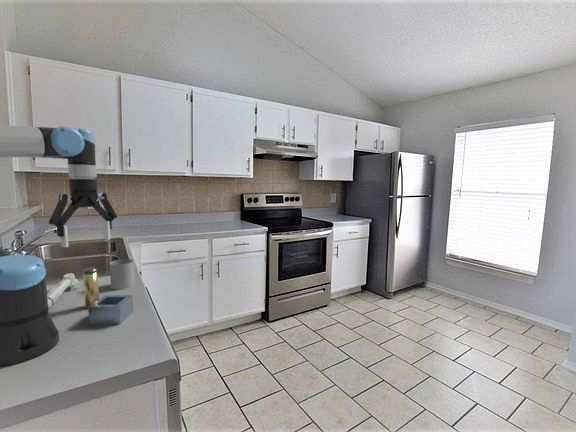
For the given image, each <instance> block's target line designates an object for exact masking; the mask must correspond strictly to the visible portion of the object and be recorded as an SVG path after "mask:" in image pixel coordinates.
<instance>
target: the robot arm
mask: <svg viewBox="0 0 576 432" xmlns="http://www.w3.org/2000/svg"><path fill="white" fill-rule="evenodd" d="M2 158H3V159H4V158H43V159H45V158H46V159H63V160H67V168H68V170H67V171H68V177H69V178H70V179H69V180H68V183H69V184H68V185H69V191H70V193H69V194H66V193H59V195H58V202H57V203H56V206H55V207H54V211H53V212H52V214H51V217H50V218H49V221H48V224H49V225H51V226H55V227H56V235H57V237H60V238H59V239H60V247H62V248H69V246H70V245H69V234H68V233H69V232H68V225H66V223H68V221H69V220H70V218H71V217H72V216H73V214H74V213H75V212H76V211H77V210H78V209H79V208H87V207H88V208H93V210H95V211H96V212H97V214H99V216H101V217H102V218H103V219H104V220H102V234H103V240H108V241H109V240H111V230H112V228H113V225H112V224H113V223H112V222H113V221H114V220H115V219H117V218H118V216H117V214H116V212H115V210H114V209H113V206H112V205H111V203H110V201H109V199H108V194H107V192H99V193H98V180H97V179H96V178H97V176H98V175H97V163H96V162H97V161H96V142H95V136H94V133H93V131H91V130H89V129H85V128H84V129H83V128H73V127H68V126H58V127H50V126H49V127H48V126H47V127H46V126H45V127H44V126H28V125H27V126H23V125H8V124H7V125H4V124H3V125H2V124H0V159H2ZM69 200H70V201H71V202H70V204H69V205H68V207H67V208H66V206H67V204H68V201H69ZM97 200H100V203H101V204H102V206H101V204H100V203H99V202H98V201H97ZM65 208H66V210H65ZM64 210H65V211H64ZM46 274H47V269H46V267H45V263H44V260H43V259H41V258H40V257H38V256H37V255H32V254H27V255H26V254H11V253H9V252H7V251H6V250H5V249H3V248H2V247H1V246H0V367H3V366H9V365H14V364H18V363H22V362H25V361H29V360H31V359H34V358H38V357H39V356H41V355H43V354H45V353H47V352H49V351H50V350H52V349H53V348H54V347H56V345H57V344H59V341H60V333H59V329H58V328H57V327H56V324H55V322H54V321H53V319H52V317H51V315H50V313H49V309H48V300H47V293H48V291H47V279H46V278H47V277H46V276H47V275H46Z"/></svg>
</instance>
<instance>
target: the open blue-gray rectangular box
mask: <svg viewBox="0 0 576 432" xmlns="http://www.w3.org/2000/svg"><path fill="white" fill-rule="evenodd" d="M133 297H134V296H133V295H132V294H121V295H118V294H117V295H115V294H113V295H107V294H106V295H103V296H101V297H99V300H97V301H96V302H94V303H93V304H92V305H90V306H89V307H88V309H87V311H88V323H89V326H90V325H91V326H92V325H121V324H122V323H123V322H124V321H125V320H126V319H127V318H128V317H129V316H130V315H131V314H133V312H134V298H133Z"/></svg>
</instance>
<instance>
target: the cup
mask: <svg viewBox="0 0 576 432" xmlns="http://www.w3.org/2000/svg"><path fill="white" fill-rule="evenodd" d="M134 274H135V273H134V261H133V259H129V258H127V259H116V260H113V261H110V262H109V276H110V289H112V290H118V289H119V290H127V289H131V288H132V287H133V286H134V285H135V276H134Z"/></svg>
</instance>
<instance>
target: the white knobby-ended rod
mask: <svg viewBox="0 0 576 432" xmlns="http://www.w3.org/2000/svg"><path fill="white" fill-rule="evenodd" d="M78 283H79V280H78V279H77V278H76V277H75V274H74V273H72V272H71V273H70V272H69V273H65V274H64V275H63V276H62V280H61V281H59V282H58V283H57V285H55V286H54V287H53V288H52V289H50V291H49V292H48V291H47V300H48V310H49V309H50V308H52V307H53V306H54V305H55V302H56V301H57V300H58V299H59V297H60V296H61V295H62V294H63V293H64V292H71V291H74V290H77V288H78V287H79V286H78Z"/></svg>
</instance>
